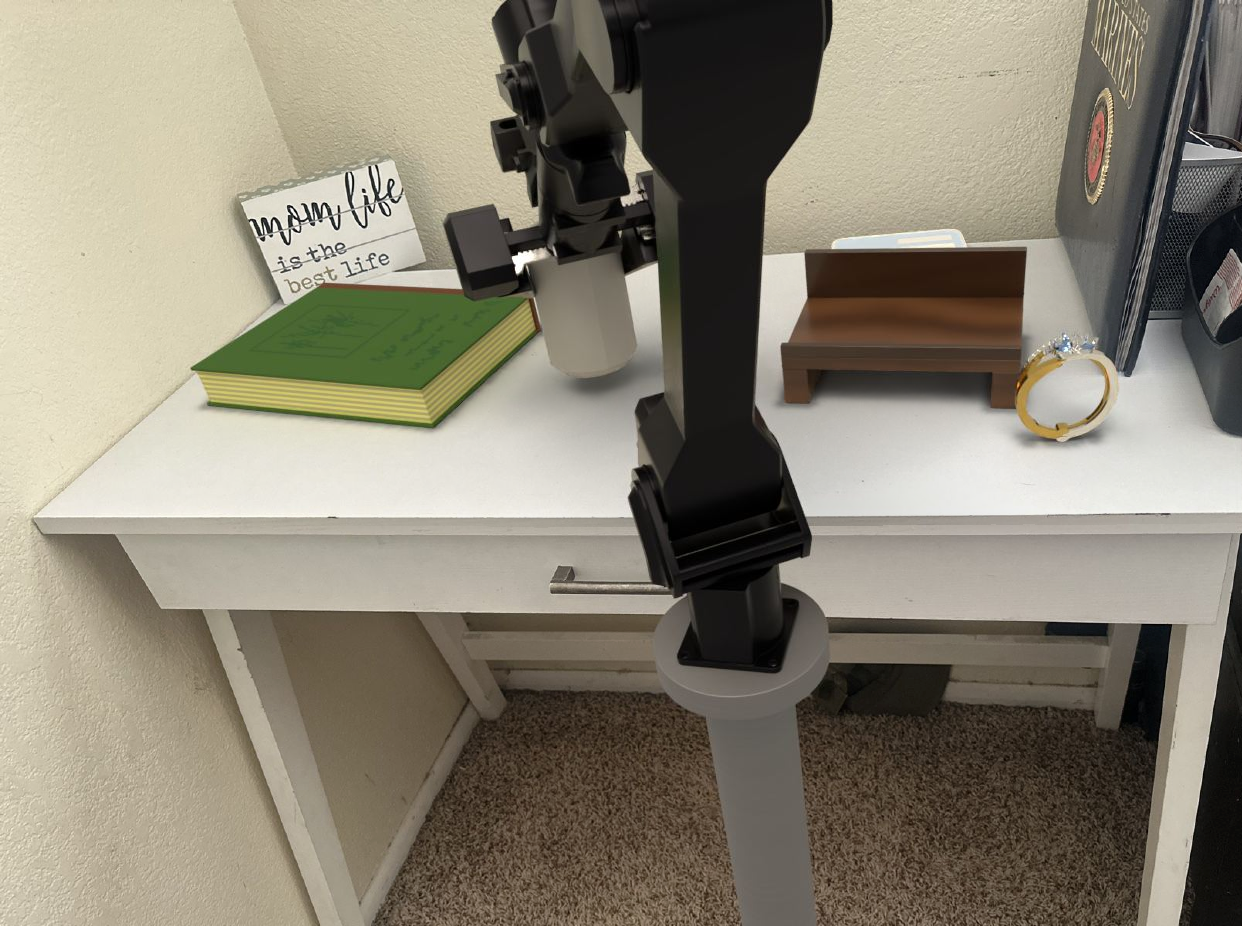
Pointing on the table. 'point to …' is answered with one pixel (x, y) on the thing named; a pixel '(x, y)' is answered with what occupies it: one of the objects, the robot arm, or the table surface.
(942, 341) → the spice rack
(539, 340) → the table surface
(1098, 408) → the ring
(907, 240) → the calculator
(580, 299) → the can
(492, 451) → the table surface
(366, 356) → the hardcover book
